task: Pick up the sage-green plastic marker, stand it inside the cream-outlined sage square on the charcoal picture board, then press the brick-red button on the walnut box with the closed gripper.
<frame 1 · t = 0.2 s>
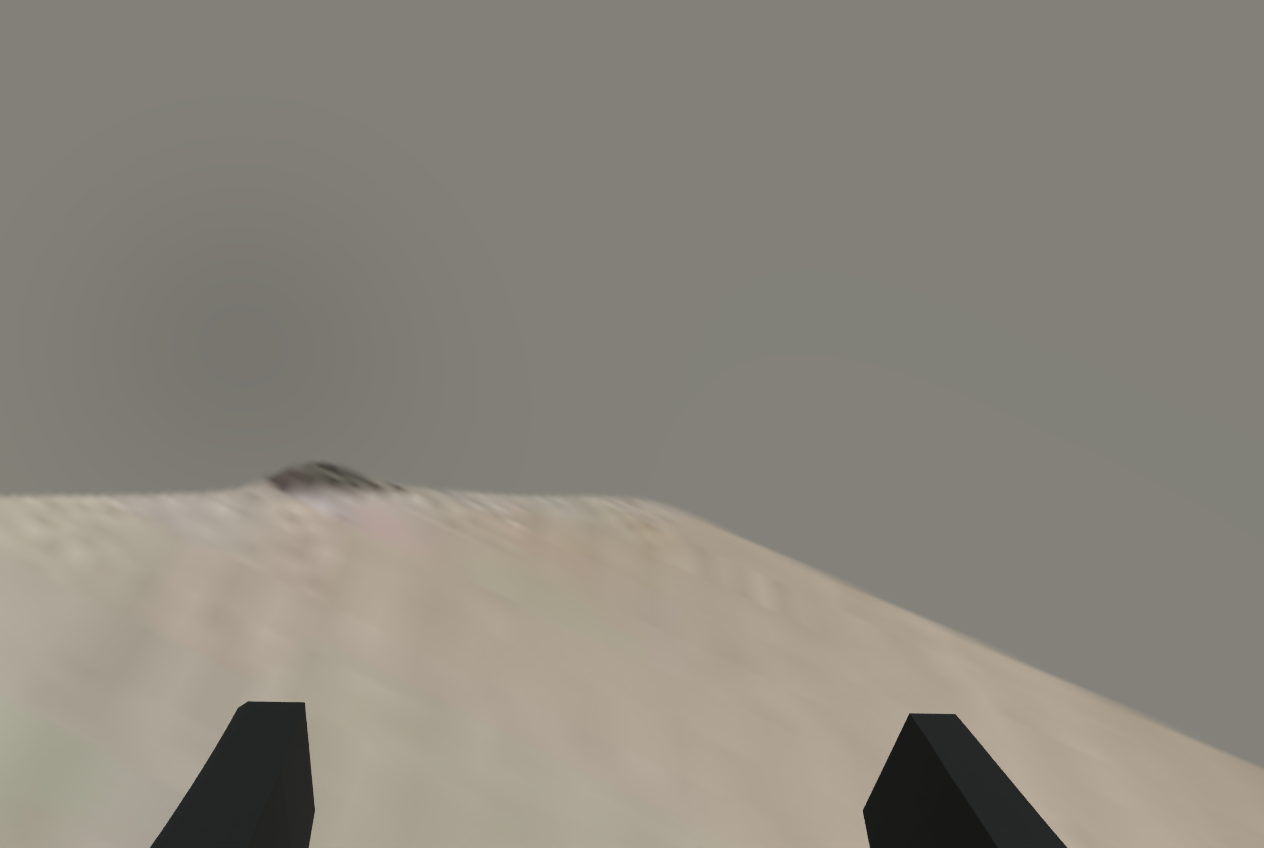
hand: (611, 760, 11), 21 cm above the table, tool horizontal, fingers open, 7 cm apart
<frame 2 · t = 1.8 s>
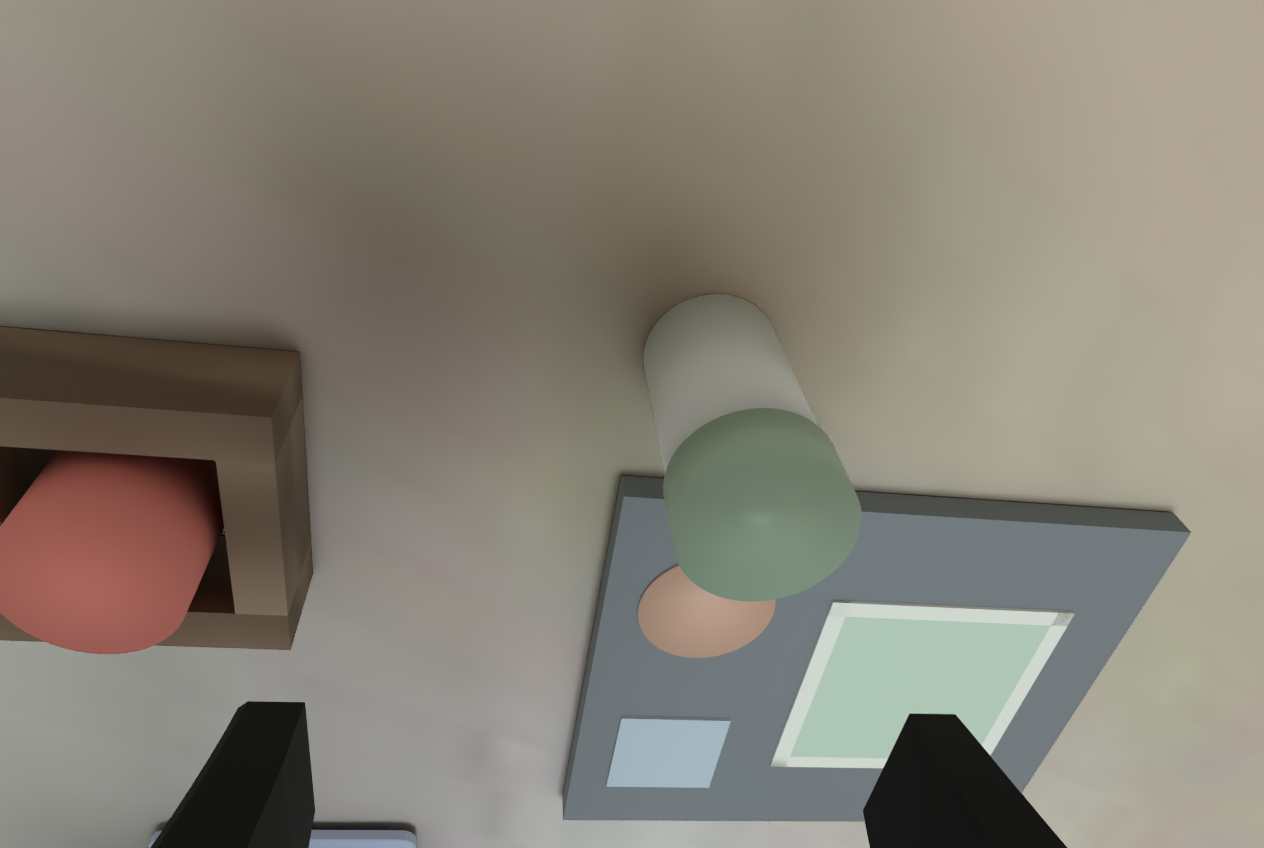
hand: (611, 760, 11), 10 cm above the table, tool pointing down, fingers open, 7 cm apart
marker: (710, 355, 20), on the table
button box: (159, 462, 20), on the table
picture board: (840, 667, 26), on the table
done button: (116, 536, 18), point 2 cm above the table, slide at 0.0 cm
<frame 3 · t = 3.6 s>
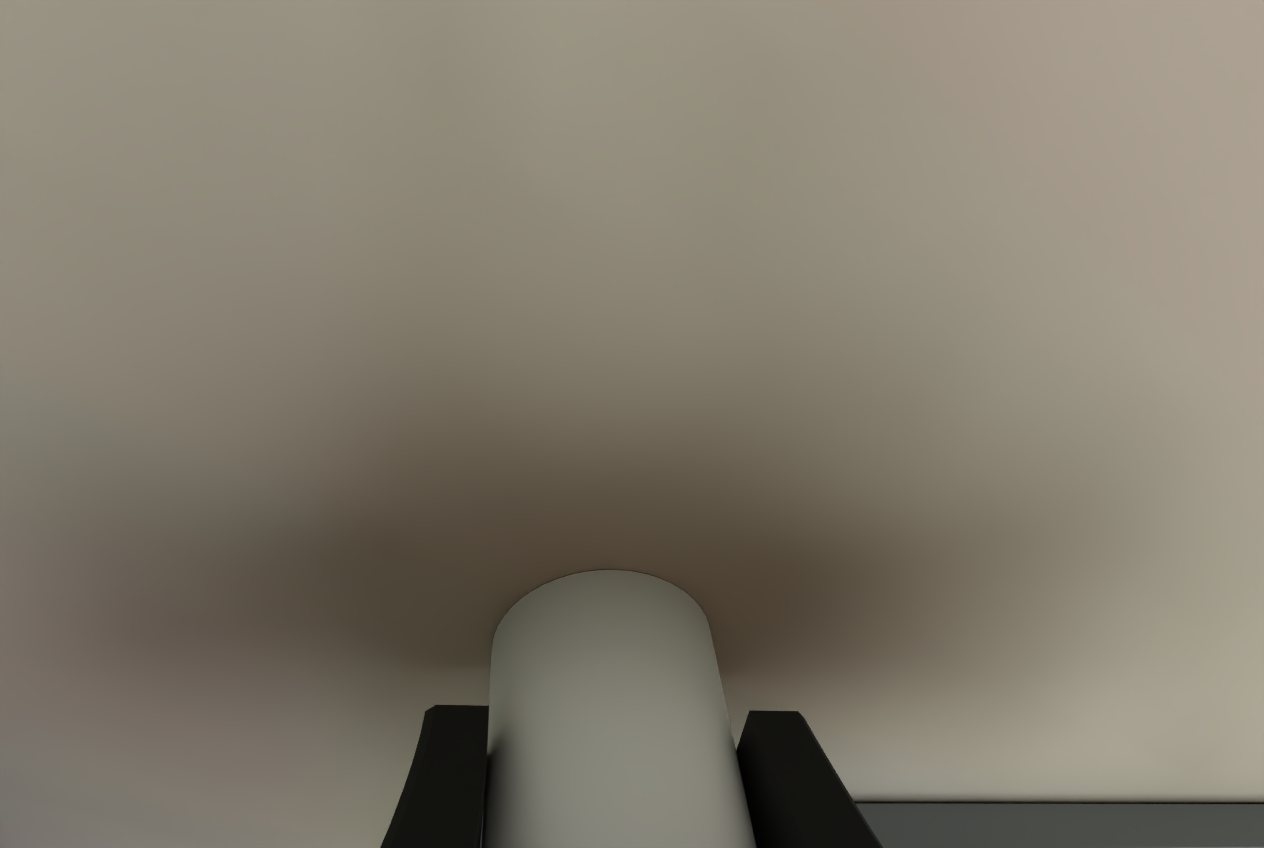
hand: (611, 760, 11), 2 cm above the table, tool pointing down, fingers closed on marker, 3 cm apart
marker: (602, 650, 12), on the table, touching gripper
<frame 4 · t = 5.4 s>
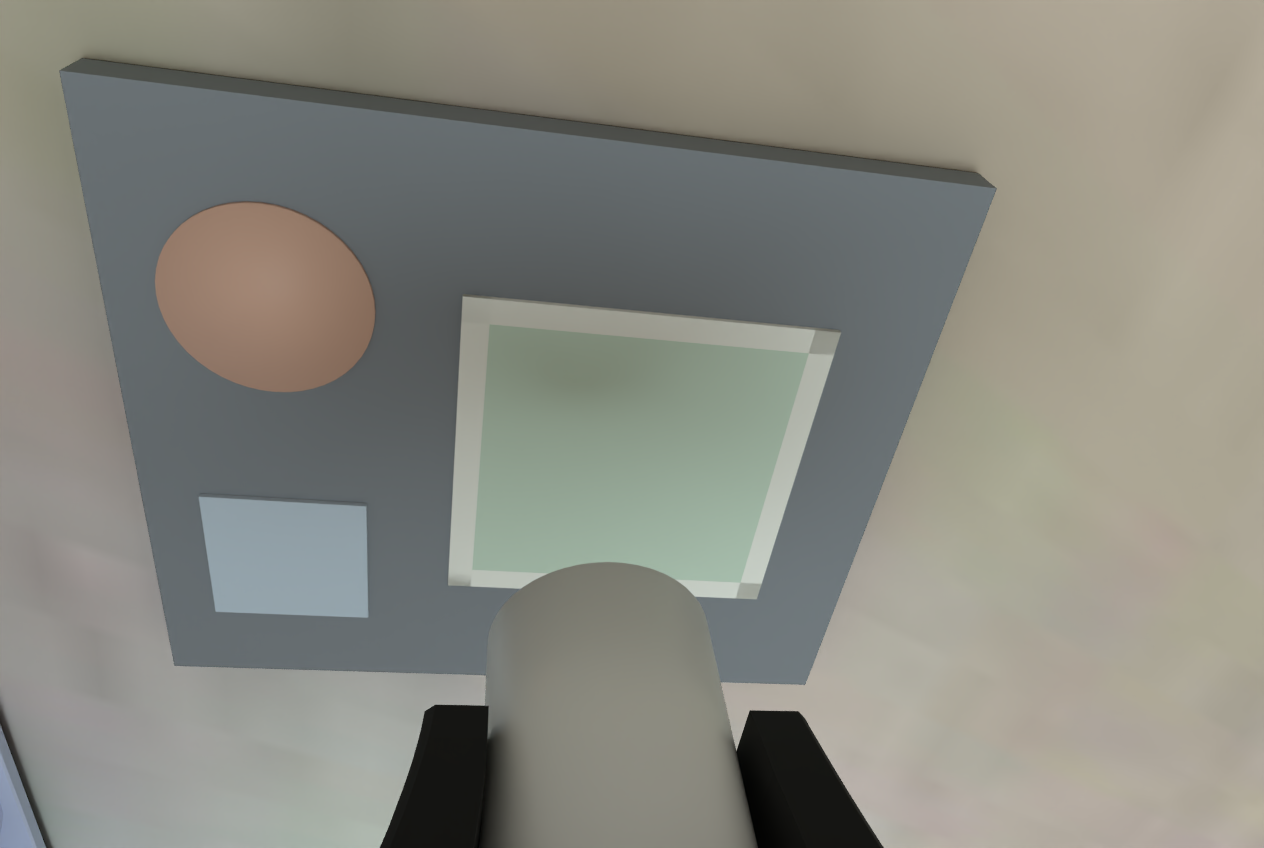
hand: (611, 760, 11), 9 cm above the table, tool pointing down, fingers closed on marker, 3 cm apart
marker: (599, 643, 12), point 7 cm above the table, touching gripper
picture board: (531, 435, 19), on the table
when the fingers open (4 cm above the table, at t = 7.1 s): marker stays where it is, resting on picture board.
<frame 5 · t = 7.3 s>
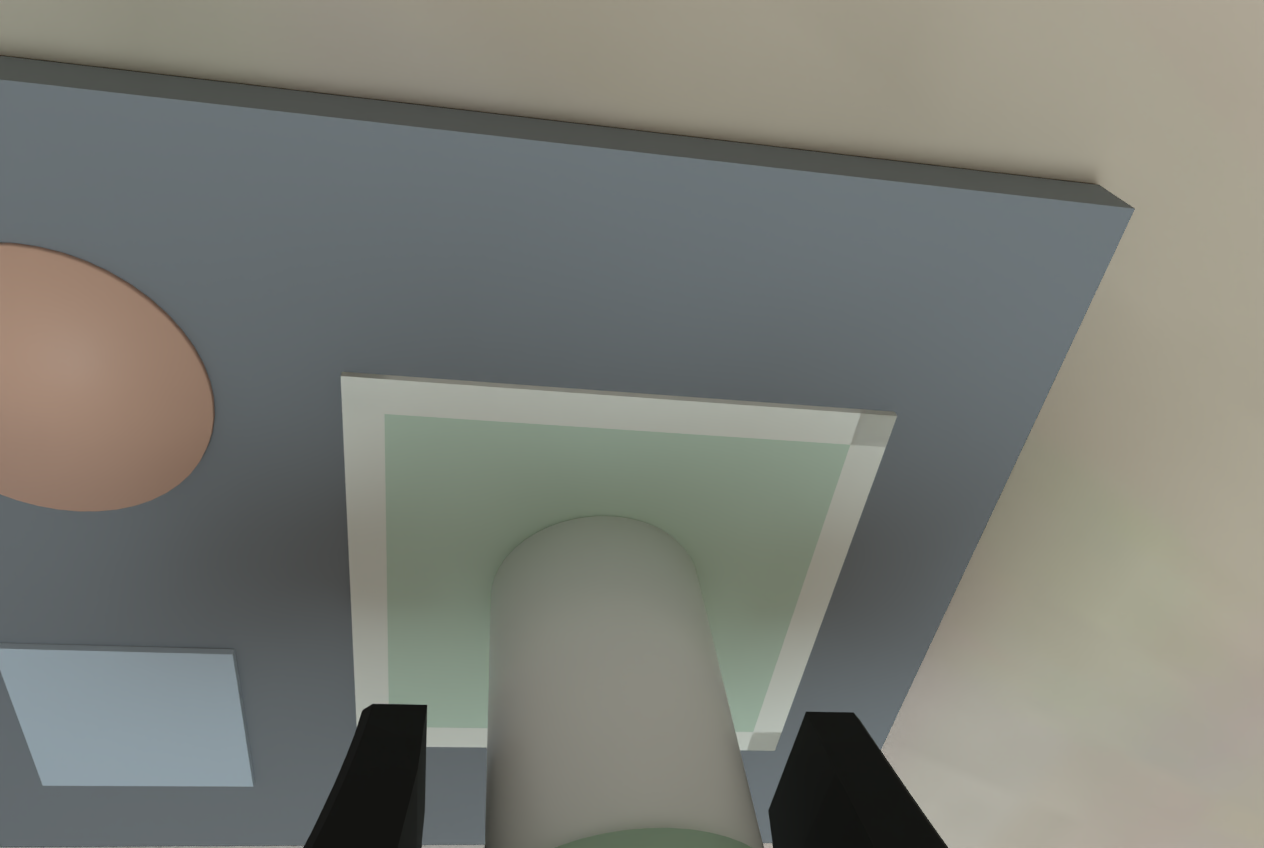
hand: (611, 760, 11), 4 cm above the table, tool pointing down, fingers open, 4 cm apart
marker: (595, 595, 13), point 1 cm above the table, touching picture board
picture board: (463, 550, 13), on the table
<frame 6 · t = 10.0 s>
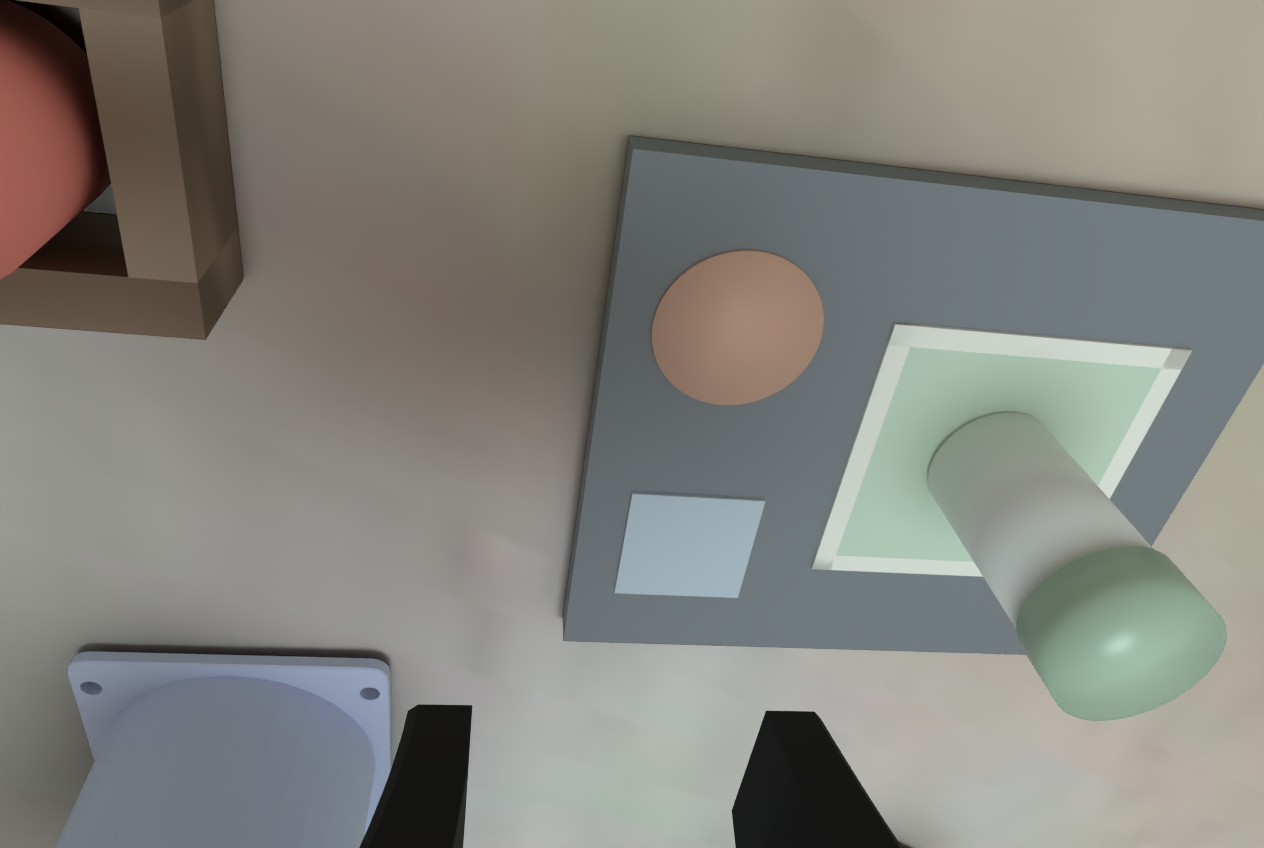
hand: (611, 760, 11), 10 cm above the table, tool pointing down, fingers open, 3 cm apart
marker: (989, 465, 21), point 1 cm above the table, touching picture board
button box: (32, 95, 16), on the table
picture board: (897, 439, 22), on the table
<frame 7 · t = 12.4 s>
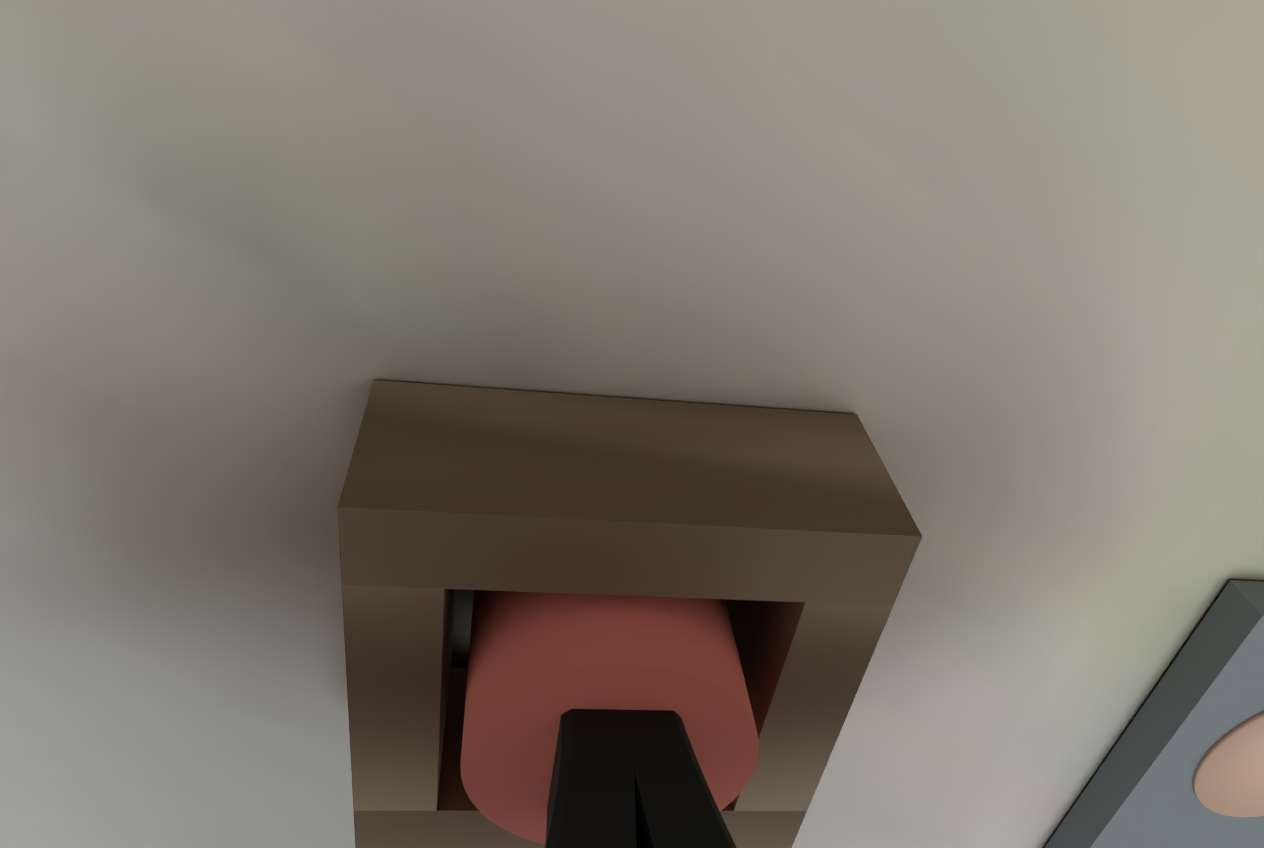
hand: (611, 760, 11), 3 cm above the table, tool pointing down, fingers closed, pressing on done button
button box: (596, 576, 13), on the table
done button: (603, 668, 12), point 2 cm above the table, slide at -0.8 cm, touching gripper
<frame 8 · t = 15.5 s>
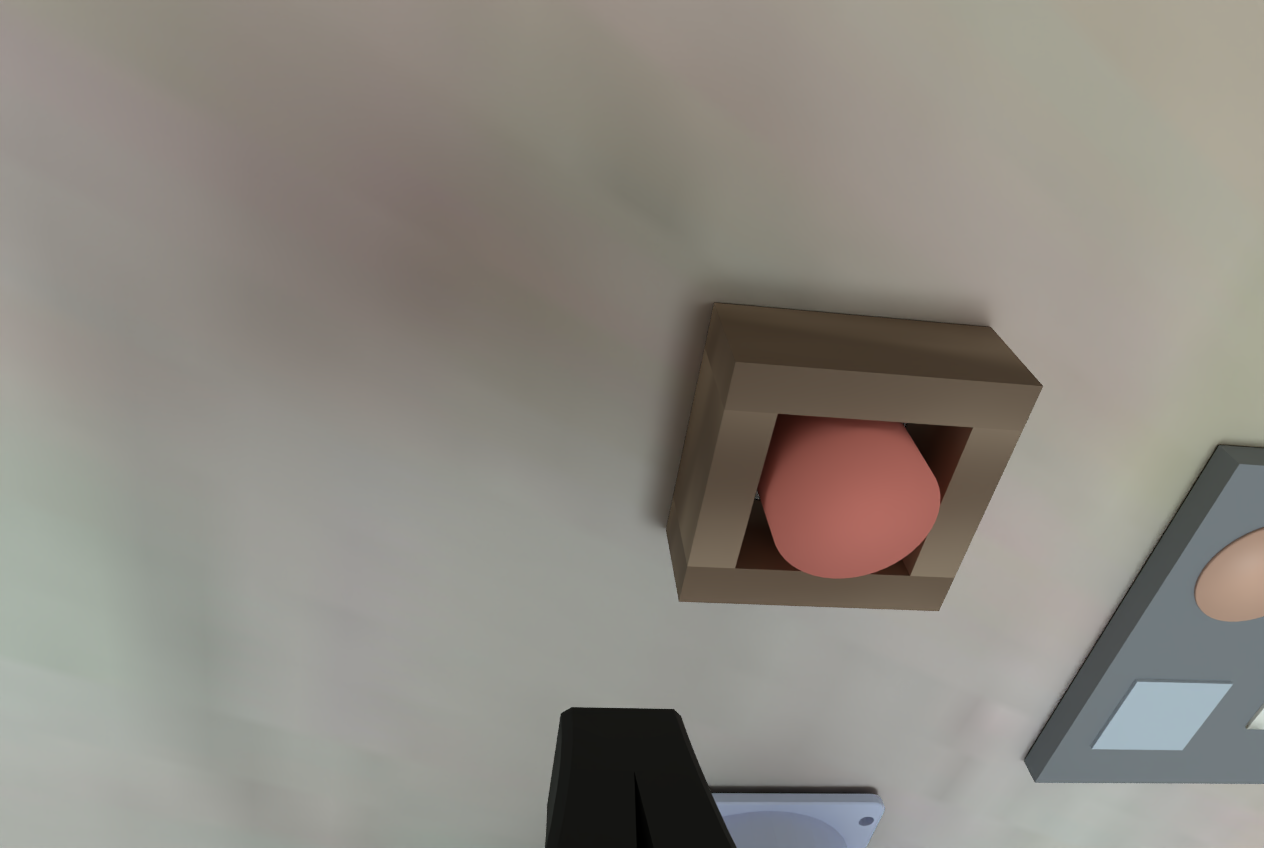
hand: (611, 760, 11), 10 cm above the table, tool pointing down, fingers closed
button box: (818, 434, 21), on the table
done button: (836, 473, 20), point 2 cm above the table, slide at -1.0 cm
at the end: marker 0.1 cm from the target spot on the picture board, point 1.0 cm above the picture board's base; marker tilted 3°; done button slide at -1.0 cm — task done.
